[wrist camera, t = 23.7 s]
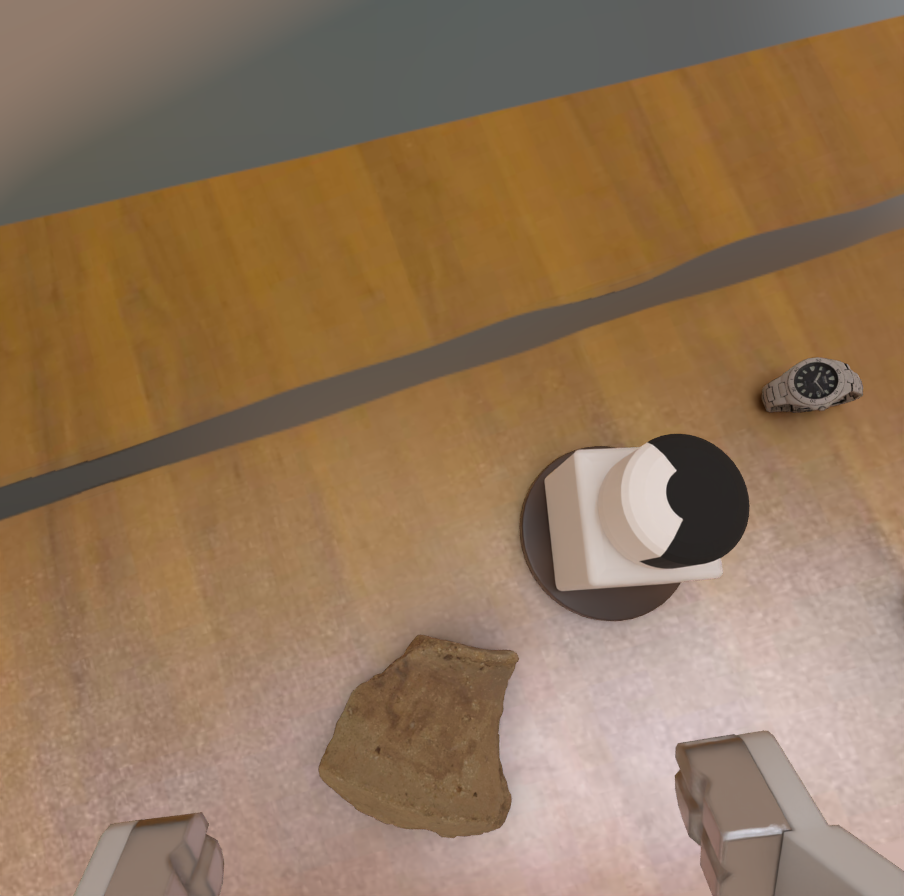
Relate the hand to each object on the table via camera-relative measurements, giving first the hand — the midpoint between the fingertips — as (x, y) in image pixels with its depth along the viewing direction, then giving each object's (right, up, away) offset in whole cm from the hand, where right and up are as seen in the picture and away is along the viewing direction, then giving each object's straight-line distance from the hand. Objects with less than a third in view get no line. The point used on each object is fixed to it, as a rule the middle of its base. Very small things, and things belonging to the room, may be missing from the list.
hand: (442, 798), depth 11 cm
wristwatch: (+24, +9, +33) cm, 42 cm away
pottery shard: (-1, -10, +25) cm, 27 cm away
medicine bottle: (+10, +1, +28) cm, 30 cm away
